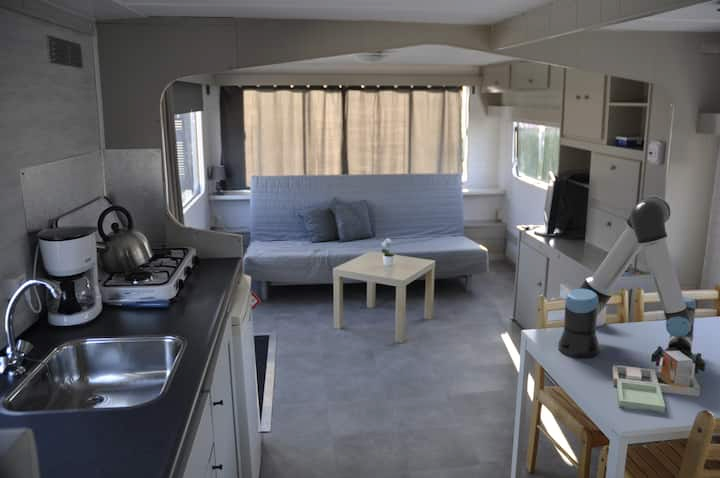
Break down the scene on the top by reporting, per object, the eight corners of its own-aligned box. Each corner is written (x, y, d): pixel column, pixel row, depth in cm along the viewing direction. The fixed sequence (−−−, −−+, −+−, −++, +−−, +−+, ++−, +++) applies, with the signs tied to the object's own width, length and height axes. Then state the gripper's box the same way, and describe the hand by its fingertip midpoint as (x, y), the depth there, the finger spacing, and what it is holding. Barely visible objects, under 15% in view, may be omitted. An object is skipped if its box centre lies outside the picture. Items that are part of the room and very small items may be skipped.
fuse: (626, 384, 207) (627, 375, 206) (625, 375, 213) (625, 366, 213) (641, 386, 205) (641, 377, 205) (639, 377, 212) (640, 368, 211)
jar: (595, 328, 258) (597, 301, 255) (579, 322, 265) (580, 296, 262) (608, 323, 263) (610, 297, 260) (592, 318, 269) (593, 292, 267)
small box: (660, 379, 209) (663, 350, 206) (675, 378, 209) (679, 350, 207) (673, 389, 201) (677, 360, 198) (689, 389, 201) (693, 359, 199)
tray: (619, 407, 192) (619, 400, 191) (616, 386, 205) (617, 380, 205) (664, 413, 187) (665, 406, 187) (659, 392, 201) (659, 385, 200)
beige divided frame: (613, 385, 206) (614, 378, 205) (612, 371, 217) (612, 364, 216) (699, 396, 197) (700, 388, 197) (693, 381, 208) (694, 373, 208)
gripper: (712, 363, 214) (712, 389, 195) (646, 351, 225) (639, 374, 206) (715, 343, 212) (715, 367, 193) (647, 332, 223) (641, 354, 204)
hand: (676, 371), depth 199 cm, fingers closed on small box, 9 cm apart
